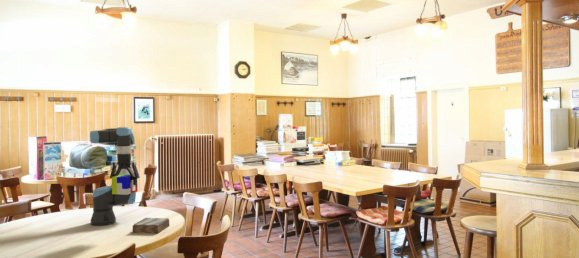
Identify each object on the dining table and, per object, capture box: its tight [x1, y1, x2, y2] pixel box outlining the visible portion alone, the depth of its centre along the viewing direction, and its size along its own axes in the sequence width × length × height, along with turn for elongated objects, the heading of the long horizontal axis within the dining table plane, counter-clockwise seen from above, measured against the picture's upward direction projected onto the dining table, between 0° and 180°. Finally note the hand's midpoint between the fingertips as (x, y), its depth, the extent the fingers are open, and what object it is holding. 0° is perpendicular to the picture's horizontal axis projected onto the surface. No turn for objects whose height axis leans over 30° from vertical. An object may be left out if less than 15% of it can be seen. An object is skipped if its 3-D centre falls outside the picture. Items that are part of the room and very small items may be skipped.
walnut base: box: [132, 217, 170, 234], centre depth 247 cm, size 16×16×5 cm
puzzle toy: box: [111, 175, 139, 195], centre depth 238 cm, size 10×10×10 cm
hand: (125, 190), depth 239 cm, fingers closed on puzzle toy, 10 cm apart
